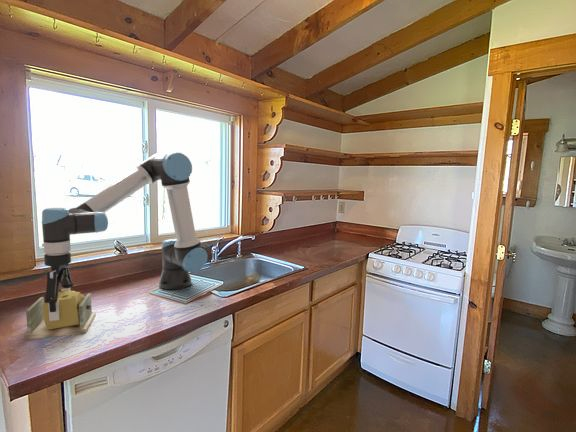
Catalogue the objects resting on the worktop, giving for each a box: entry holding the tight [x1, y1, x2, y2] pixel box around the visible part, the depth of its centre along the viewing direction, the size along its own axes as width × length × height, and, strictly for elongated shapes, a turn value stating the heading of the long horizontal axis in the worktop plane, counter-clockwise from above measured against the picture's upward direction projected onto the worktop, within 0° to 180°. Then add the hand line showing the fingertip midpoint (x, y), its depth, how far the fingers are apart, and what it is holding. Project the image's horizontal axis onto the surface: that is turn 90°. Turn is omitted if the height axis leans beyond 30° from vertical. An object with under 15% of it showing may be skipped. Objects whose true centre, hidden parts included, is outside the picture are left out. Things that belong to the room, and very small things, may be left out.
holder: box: [22, 292, 97, 341], centre depth 116 cm, size 18×14×10 cm
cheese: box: [42, 290, 85, 330], centre depth 115 cm, size 10×11×10 cm
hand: (60, 312), depth 116 cm, fingers open, 12 cm apart
